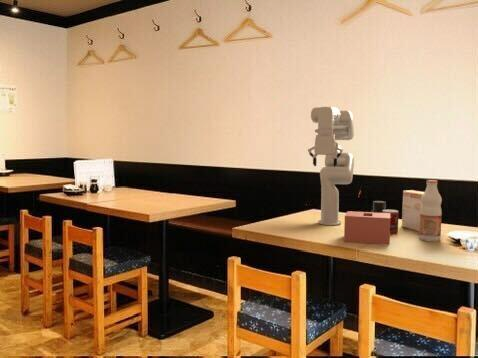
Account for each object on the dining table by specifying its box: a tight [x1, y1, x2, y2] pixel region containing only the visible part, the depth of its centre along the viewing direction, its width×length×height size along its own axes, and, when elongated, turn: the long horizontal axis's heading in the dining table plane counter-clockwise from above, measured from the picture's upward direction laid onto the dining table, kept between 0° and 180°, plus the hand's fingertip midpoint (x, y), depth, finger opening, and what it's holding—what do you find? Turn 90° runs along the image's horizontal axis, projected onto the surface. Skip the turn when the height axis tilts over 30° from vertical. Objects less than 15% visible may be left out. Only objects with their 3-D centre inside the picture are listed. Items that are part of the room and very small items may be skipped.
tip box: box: [343, 210, 391, 246], centre depth 226 cm, size 14×20×12 cm
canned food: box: [383, 209, 399, 235], centre depth 244 cm, size 8×8×11 cm
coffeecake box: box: [401, 189, 425, 232], centre depth 253 cm, size 15×7×20 cm, turn 18°
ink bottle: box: [370, 200, 387, 213], centre depth 269 cm, size 10×9×12 cm
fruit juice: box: [418, 179, 443, 242], centre depth 227 cm, size 9×9×28 cm
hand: (324, 166), depth 242 cm, fingers open, 9 cm apart
